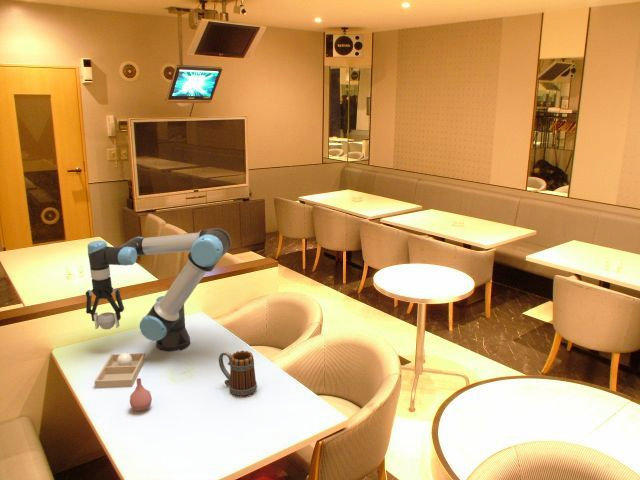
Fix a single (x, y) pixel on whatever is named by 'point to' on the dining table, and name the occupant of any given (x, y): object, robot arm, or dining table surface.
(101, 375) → the wooden compartment tray
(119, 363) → the egg
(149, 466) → the dining table surface
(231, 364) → the mug
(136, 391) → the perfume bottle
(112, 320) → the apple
